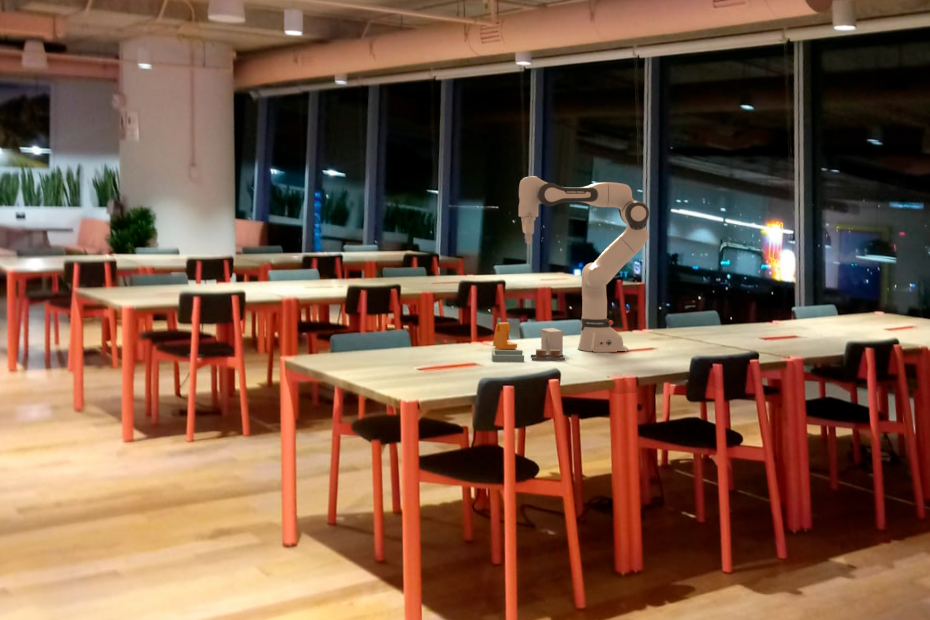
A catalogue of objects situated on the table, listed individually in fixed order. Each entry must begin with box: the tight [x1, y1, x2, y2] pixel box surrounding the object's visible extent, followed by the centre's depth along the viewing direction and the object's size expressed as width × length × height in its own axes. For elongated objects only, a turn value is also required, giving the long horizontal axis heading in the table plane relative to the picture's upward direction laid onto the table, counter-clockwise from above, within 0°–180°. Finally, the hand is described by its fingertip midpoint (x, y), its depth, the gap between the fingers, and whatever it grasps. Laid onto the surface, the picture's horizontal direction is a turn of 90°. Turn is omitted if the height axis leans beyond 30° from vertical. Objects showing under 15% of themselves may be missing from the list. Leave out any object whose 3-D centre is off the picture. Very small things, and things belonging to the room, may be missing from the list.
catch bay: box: [491, 349, 525, 362], centre depth 435 cm, size 13×14×2 cm
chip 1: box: [535, 348, 547, 357], centre depth 435 cm, size 4×4×4 cm
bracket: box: [492, 321, 518, 350], centre depth 463 cm, size 11×7×12 cm, turn 24°
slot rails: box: [530, 354, 566, 362], centre depth 435 cm, size 14×8×1 cm, turn 90°
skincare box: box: [540, 327, 564, 355], centre depth 452 cm, size 10×6×10 cm, turn 18°
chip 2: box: [550, 349, 560, 357], centre depth 435 cm, size 4×4×4 cm
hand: (528, 243), depth 458 cm, fingers open, 8 cm apart
